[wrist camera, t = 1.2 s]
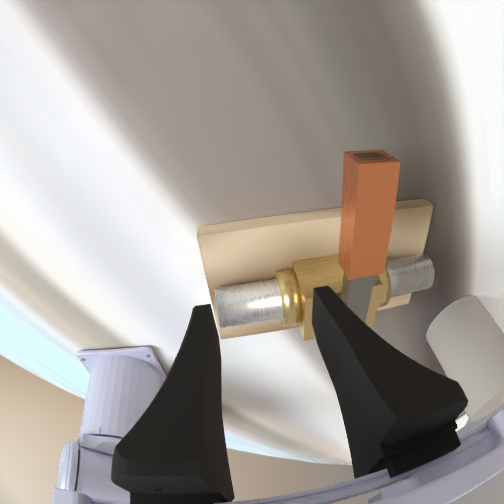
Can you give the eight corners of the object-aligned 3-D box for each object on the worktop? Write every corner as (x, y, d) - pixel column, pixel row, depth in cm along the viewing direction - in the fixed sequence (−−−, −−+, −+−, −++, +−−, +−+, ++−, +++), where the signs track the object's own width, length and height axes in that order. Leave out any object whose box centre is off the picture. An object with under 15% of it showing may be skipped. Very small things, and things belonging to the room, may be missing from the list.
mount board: (402, 294, 28) (408, 303, 27) (220, 328, 27) (221, 339, 26) (425, 198, 22) (433, 205, 21) (197, 227, 21) (196, 236, 20)
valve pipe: (408, 275, 25) (432, 309, 22) (221, 309, 24) (224, 353, 21) (418, 236, 23) (447, 270, 19) (212, 268, 22) (214, 313, 19)
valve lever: (356, 323, 21) (367, 346, 19) (326, 330, 21) (335, 353, 19) (380, 147, 14) (402, 161, 12) (338, 149, 14) (356, 164, 12)
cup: (443, 348, 35) (482, 420, 26) (414, 337, 32) (459, 422, 22) (486, 306, 32) (534, 375, 22) (464, 286, 29) (523, 370, 19)
